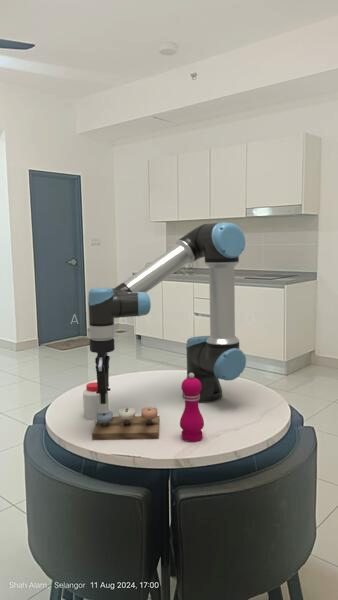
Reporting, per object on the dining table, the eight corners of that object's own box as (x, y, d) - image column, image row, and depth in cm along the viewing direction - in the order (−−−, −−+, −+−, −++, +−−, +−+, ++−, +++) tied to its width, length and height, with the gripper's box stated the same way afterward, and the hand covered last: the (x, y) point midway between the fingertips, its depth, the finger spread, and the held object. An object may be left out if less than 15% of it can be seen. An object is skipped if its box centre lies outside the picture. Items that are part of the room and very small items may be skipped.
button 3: (113, 423, 155) (113, 410, 154) (112, 429, 150) (111, 415, 149) (98, 423, 155) (97, 410, 154) (95, 429, 150) (95, 416, 149)
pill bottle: (88, 421, 161) (86, 389, 159) (81, 414, 167) (79, 383, 166) (110, 417, 164) (109, 385, 163) (102, 410, 171) (101, 380, 170)
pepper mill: (178, 433, 149) (177, 370, 147) (202, 432, 150) (201, 369, 147) (181, 443, 142) (180, 376, 140) (205, 441, 143) (205, 375, 140)
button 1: (157, 419, 155) (157, 406, 154) (157, 425, 150) (157, 412, 149) (141, 420, 155) (141, 406, 154) (141, 426, 150) (140, 412, 149)
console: (159, 421, 159) (159, 415, 159) (158, 438, 145) (158, 432, 145) (98, 422, 159) (98, 416, 159) (92, 440, 145) (91, 433, 145)
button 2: (135, 420, 155) (135, 407, 154) (134, 426, 150) (134, 412, 149) (119, 420, 155) (119, 407, 154) (118, 426, 150) (118, 412, 149)
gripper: (92, 334, 155) (95, 405, 158) (86, 342, 142) (88, 420, 145) (116, 334, 155) (118, 405, 158) (111, 342, 142) (113, 419, 145)
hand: (104, 412), depth 152 cm, fingers closed
